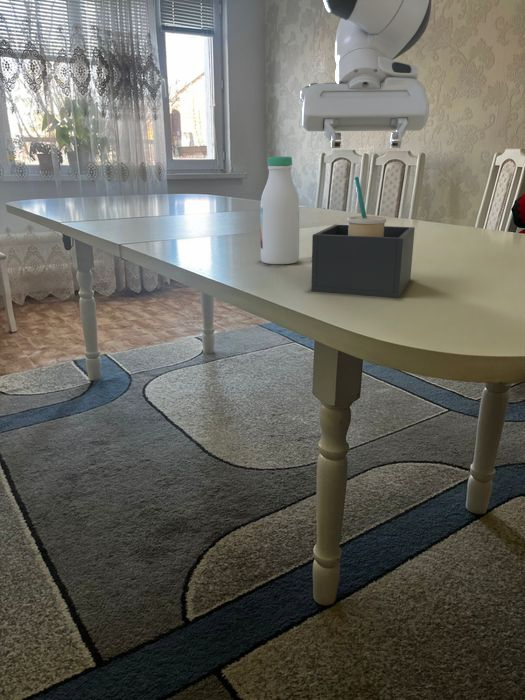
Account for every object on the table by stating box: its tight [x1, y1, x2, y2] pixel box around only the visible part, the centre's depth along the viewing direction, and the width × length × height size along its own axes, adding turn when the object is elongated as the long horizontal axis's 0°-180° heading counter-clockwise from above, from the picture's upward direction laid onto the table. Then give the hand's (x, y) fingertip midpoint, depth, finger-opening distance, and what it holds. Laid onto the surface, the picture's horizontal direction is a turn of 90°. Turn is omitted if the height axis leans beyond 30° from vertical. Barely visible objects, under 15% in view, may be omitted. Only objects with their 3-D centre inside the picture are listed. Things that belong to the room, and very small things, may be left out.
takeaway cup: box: [347, 176, 387, 237], centre depth 86 cm, size 6×6×16 cm
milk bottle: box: [259, 156, 300, 265], centre depth 106 cm, size 8×8×20 cm
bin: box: [310, 223, 416, 299], centre depth 88 cm, size 14×14×9 cm
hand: (366, 145), depth 85 cm, fingers open, 8 cm apart
